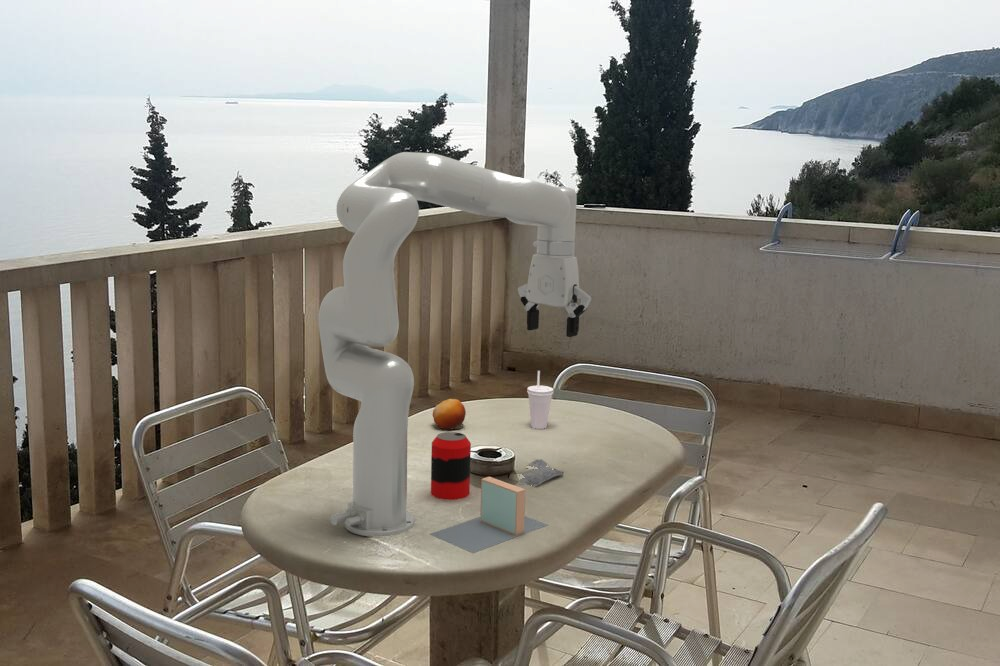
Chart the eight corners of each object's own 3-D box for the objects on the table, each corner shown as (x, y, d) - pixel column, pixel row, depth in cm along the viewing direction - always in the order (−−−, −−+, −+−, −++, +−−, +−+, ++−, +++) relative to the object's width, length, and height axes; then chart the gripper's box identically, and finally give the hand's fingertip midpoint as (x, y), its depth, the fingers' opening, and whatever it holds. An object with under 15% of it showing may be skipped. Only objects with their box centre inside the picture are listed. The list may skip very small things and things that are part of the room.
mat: (472, 555, 169) (473, 553, 169) (429, 536, 177) (429, 533, 176) (548, 527, 182) (548, 524, 182) (504, 510, 190) (504, 508, 190)
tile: (515, 535, 177) (517, 492, 175) (480, 521, 183) (481, 479, 182) (523, 532, 178) (525, 489, 177) (487, 518, 185) (489, 476, 183)
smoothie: (527, 422, 250) (529, 367, 247) (553, 424, 249) (555, 369, 246) (524, 429, 244) (526, 373, 241) (550, 431, 243) (553, 374, 240)
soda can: (477, 496, 197) (479, 437, 195) (448, 504, 192) (450, 444, 190) (451, 486, 203) (452, 428, 200) (422, 494, 197) (423, 435, 195)
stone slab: (535, 457, 219) (574, 465, 214) (535, 465, 220) (574, 473, 214) (484, 481, 205) (524, 489, 199) (484, 489, 206) (525, 498, 200)
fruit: (472, 426, 240) (455, 398, 238) (443, 442, 240) (426, 414, 239) (473, 417, 248) (457, 389, 246) (446, 432, 248) (429, 405, 247)
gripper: (509, 246, 204) (507, 329, 208) (581, 254, 194) (577, 341, 197) (531, 244, 210) (528, 324, 214) (602, 251, 200) (597, 336, 203)
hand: (552, 332), depth 205 cm, fingers open, 9 cm apart
